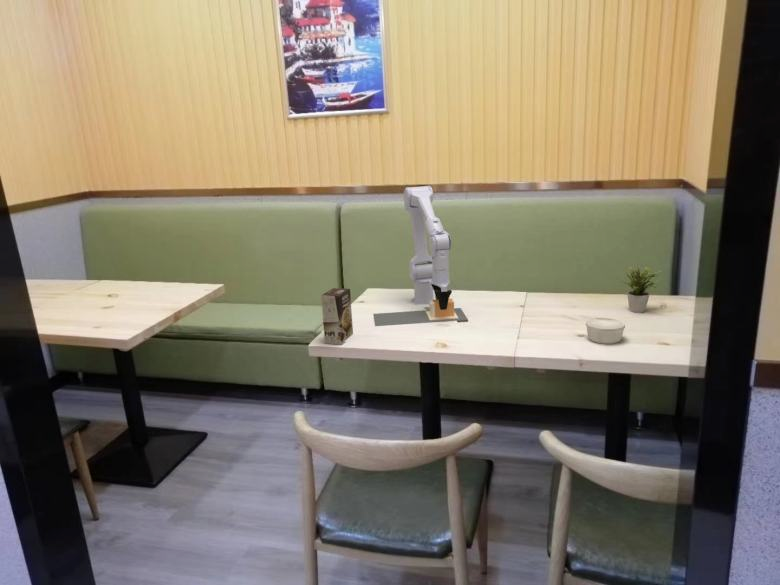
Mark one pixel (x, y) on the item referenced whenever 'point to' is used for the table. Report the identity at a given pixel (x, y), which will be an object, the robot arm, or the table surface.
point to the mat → (412, 318)
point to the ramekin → (605, 330)
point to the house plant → (639, 289)
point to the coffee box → (337, 315)
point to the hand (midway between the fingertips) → (441, 306)
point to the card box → (437, 312)
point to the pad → (441, 317)
